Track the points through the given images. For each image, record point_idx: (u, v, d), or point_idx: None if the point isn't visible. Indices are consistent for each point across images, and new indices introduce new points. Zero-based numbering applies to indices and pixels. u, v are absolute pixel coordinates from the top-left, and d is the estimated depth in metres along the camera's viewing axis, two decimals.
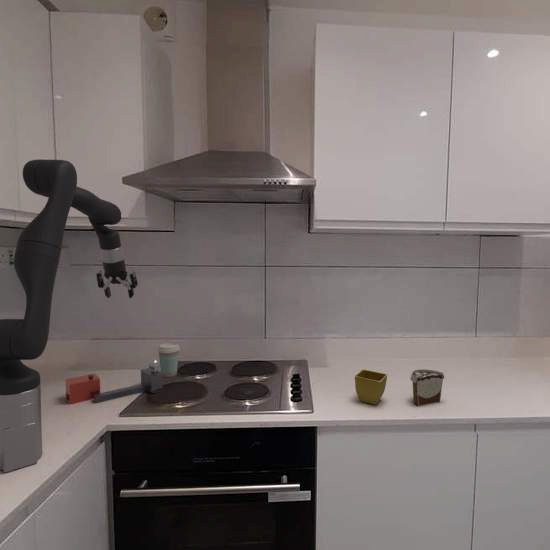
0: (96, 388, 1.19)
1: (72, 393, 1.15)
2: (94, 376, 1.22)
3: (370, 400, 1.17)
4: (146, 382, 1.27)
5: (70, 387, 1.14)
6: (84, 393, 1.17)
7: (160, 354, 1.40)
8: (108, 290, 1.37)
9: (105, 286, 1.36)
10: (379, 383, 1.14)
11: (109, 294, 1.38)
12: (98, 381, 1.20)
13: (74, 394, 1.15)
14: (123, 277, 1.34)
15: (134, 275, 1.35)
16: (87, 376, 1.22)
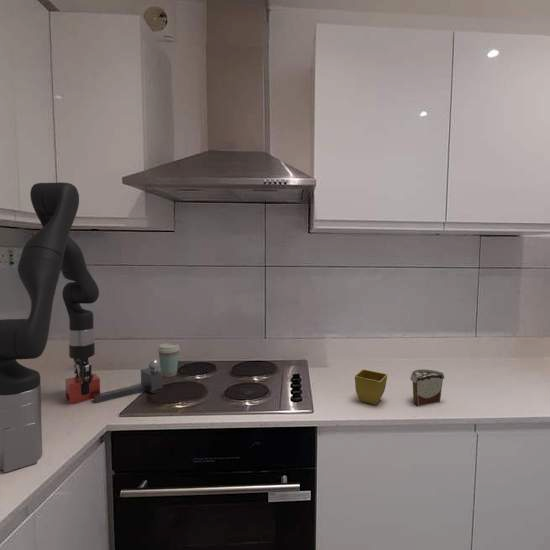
0: (96, 388, 1.19)
1: (72, 393, 1.15)
2: (94, 376, 1.22)
3: (370, 400, 1.17)
4: (146, 382, 1.27)
5: (70, 387, 1.14)
6: None
7: (160, 354, 1.40)
8: None
9: (76, 373, 1.21)
10: (379, 383, 1.14)
11: None
12: (98, 381, 1.20)
13: (74, 394, 1.15)
14: (80, 367, 1.16)
15: (87, 369, 1.14)
16: None
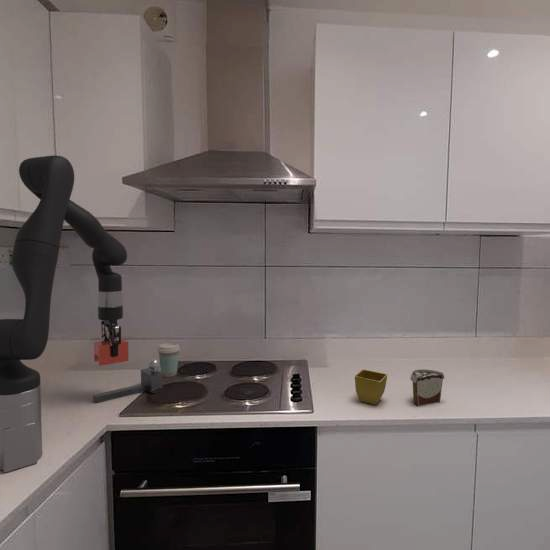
0: (125, 351, 1.19)
1: (102, 355, 1.14)
2: (122, 340, 1.21)
3: (370, 400, 1.17)
4: (146, 382, 1.27)
5: (100, 348, 1.14)
6: None
7: (160, 354, 1.40)
8: None
9: (103, 337, 1.21)
10: (379, 383, 1.14)
11: None
12: (126, 344, 1.19)
13: (103, 355, 1.15)
14: (110, 329, 1.16)
15: (117, 330, 1.13)
16: (115, 339, 1.21)
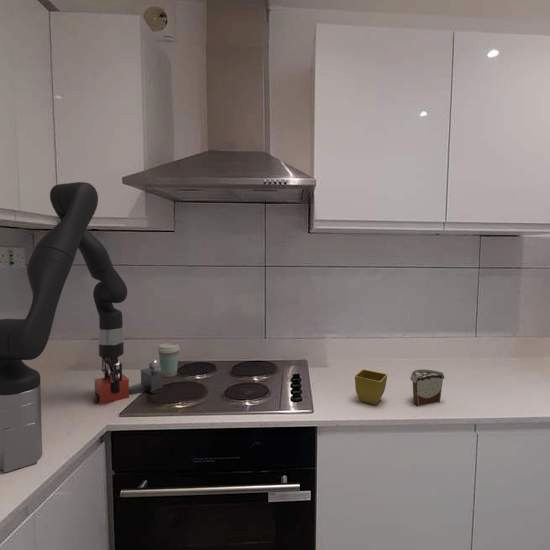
0: (125, 389, 1.20)
1: (103, 394, 1.15)
2: (122, 376, 1.22)
3: (370, 400, 1.17)
4: (146, 382, 1.27)
5: (100, 387, 1.15)
6: None
7: (160, 354, 1.40)
8: None
9: (104, 371, 1.22)
10: (379, 383, 1.14)
11: None
12: (127, 381, 1.20)
13: (104, 394, 1.15)
14: (110, 365, 1.16)
15: (118, 367, 1.14)
16: None
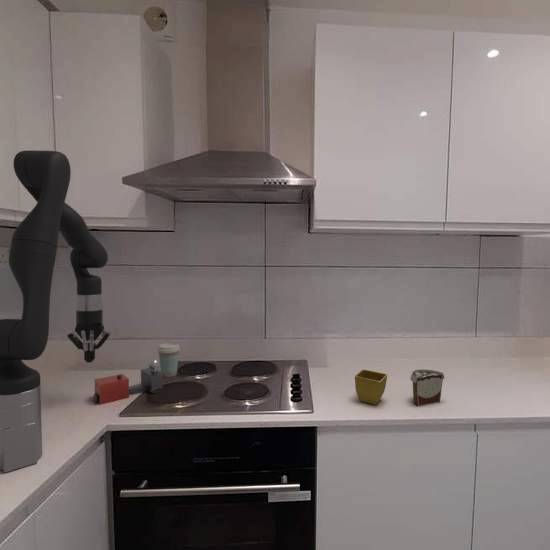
0: (125, 389, 1.20)
1: (103, 394, 1.15)
2: (122, 376, 1.22)
3: (370, 400, 1.17)
4: (146, 382, 1.27)
5: (100, 387, 1.14)
6: (114, 393, 1.17)
7: (160, 354, 1.40)
8: None
9: (85, 346, 1.14)
10: (379, 383, 1.14)
11: None
12: (127, 381, 1.20)
13: (104, 394, 1.15)
14: (97, 335, 1.14)
15: (108, 336, 1.16)
16: (115, 376, 1.22)
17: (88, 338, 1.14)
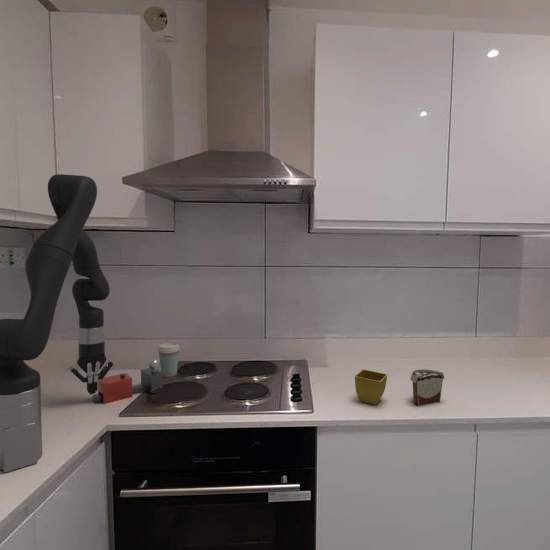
0: (129, 388, 1.20)
1: (106, 393, 1.16)
2: (126, 375, 1.23)
3: (370, 400, 1.17)
4: (146, 382, 1.27)
5: (104, 386, 1.15)
6: (117, 392, 1.18)
7: (160, 354, 1.40)
8: None
9: (89, 379, 1.14)
10: (379, 383, 1.14)
11: None
12: (130, 380, 1.20)
13: (108, 393, 1.16)
14: (101, 365, 1.17)
15: None
16: (119, 375, 1.23)
17: (92, 370, 1.15)
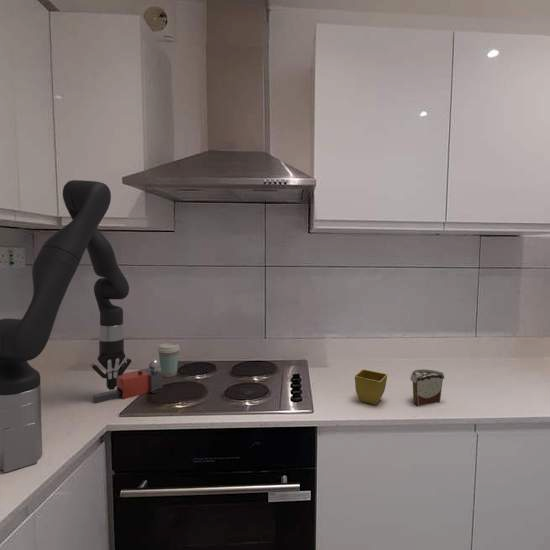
0: (146, 384, 1.24)
1: (125, 388, 1.19)
2: (143, 372, 1.27)
3: (370, 400, 1.17)
4: None
5: (123, 382, 1.19)
6: (136, 388, 1.22)
7: (160, 354, 1.40)
8: None
9: (109, 375, 1.18)
10: (379, 383, 1.14)
11: None
12: (148, 376, 1.24)
13: (127, 389, 1.20)
14: (120, 362, 1.20)
15: None
16: (136, 372, 1.27)
17: (112, 366, 1.19)
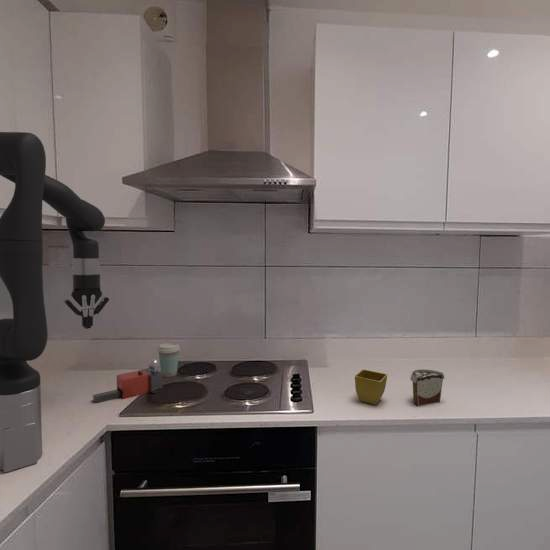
0: (146, 384, 1.24)
1: (125, 388, 1.20)
2: (143, 372, 1.27)
3: (370, 400, 1.17)
4: None
5: (123, 382, 1.19)
6: (136, 388, 1.22)
7: (160, 354, 1.40)
8: None
9: (84, 312, 1.10)
10: (379, 383, 1.14)
11: None
12: (148, 377, 1.24)
13: (127, 389, 1.20)
14: (97, 299, 1.13)
15: None
16: (136, 372, 1.27)
17: (87, 303, 1.11)
